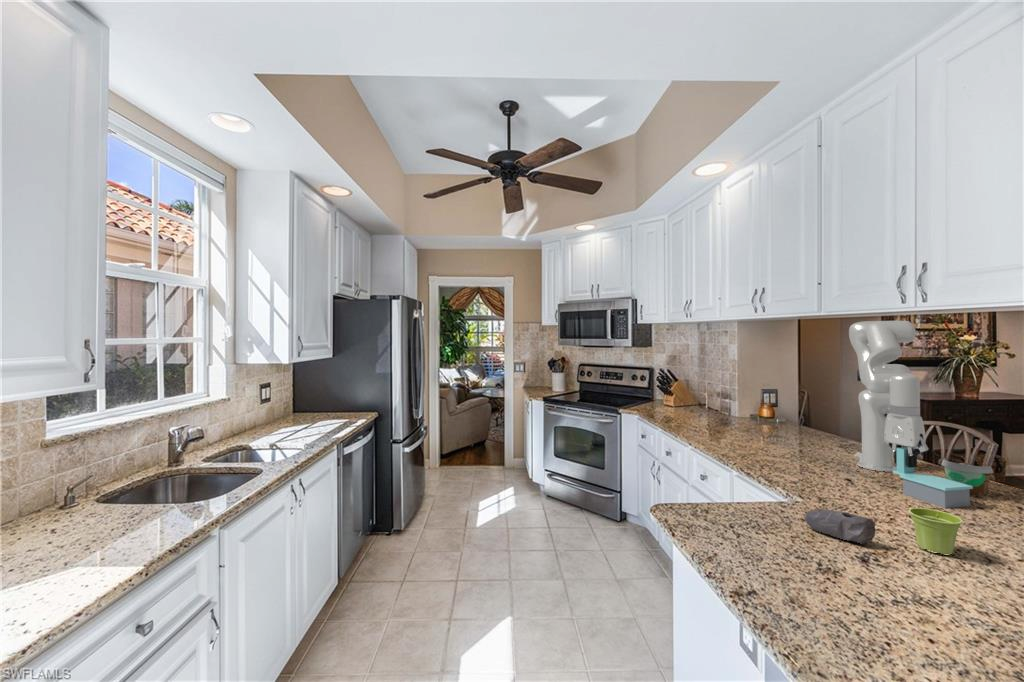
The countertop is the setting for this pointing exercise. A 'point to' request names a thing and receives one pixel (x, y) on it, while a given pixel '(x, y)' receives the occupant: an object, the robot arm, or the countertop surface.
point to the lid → (924, 475)
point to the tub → (936, 495)
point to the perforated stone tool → (841, 525)
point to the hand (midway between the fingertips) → (905, 464)
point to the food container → (969, 475)
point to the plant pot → (935, 529)
